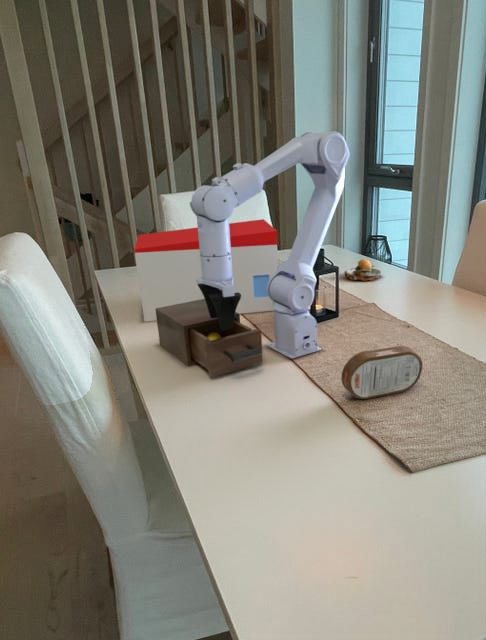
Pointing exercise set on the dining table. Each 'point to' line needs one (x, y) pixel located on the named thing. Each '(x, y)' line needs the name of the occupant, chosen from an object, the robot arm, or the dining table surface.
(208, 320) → the cabinet
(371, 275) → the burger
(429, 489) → the dining table surface
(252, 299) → the red-topped white box
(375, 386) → the tin
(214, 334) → the yellow oval capsule
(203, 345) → the drawer
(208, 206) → the robot arm
